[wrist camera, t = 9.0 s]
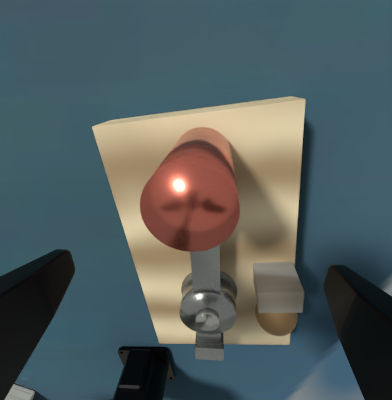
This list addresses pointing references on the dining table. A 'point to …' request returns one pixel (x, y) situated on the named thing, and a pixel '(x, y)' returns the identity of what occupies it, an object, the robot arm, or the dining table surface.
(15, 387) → the supplement box
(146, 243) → the block
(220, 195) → the lever
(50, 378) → the dining table surface
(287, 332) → the walnut
